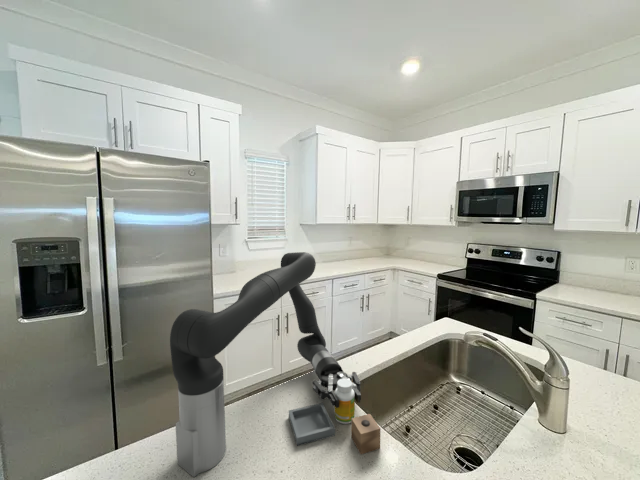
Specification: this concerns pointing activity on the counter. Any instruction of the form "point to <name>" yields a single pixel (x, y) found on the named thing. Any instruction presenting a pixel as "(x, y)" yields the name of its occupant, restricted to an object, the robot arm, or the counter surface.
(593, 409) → the counter surface
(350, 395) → the supplement bottle
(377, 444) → the wooden block with knob
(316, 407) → the tray
